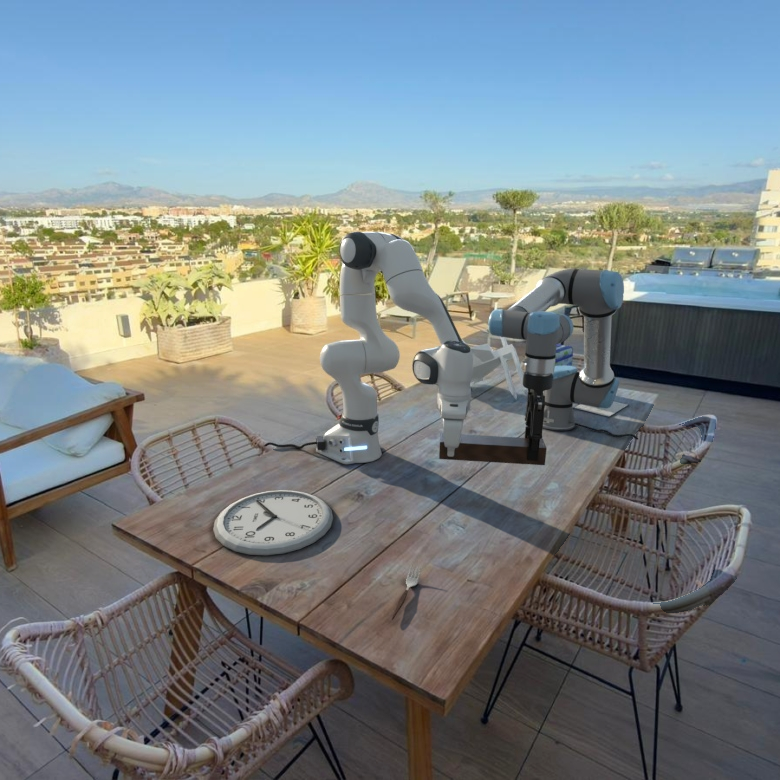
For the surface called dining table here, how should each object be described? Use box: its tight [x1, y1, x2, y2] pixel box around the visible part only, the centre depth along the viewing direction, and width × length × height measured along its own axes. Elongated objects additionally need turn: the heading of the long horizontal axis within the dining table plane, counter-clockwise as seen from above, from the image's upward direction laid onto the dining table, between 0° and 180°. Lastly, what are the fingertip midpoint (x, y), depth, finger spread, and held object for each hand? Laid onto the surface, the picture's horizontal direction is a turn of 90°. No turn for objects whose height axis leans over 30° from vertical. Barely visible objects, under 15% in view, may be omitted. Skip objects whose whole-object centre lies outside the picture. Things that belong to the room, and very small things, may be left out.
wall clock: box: [212, 489, 334, 556], centre depth 134 cm, size 30×2×30 cm
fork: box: [391, 565, 422, 620], centre depth 108 cm, size 3×16×2 cm, turn 160°
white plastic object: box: [461, 336, 528, 400], centre depth 245 cm, size 37×45×31 cm
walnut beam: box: [438, 432, 547, 466], centre depth 143 cm, size 28×6×5 cm, turn 83°
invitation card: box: [573, 400, 629, 418], centre depth 226 cm, size 21×1×15 cm
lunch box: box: [555, 343, 574, 366], centre depth 248 cm, size 26×11×21 cm, turn 134°
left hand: (450, 449), depth 144 cm, fingers closed on walnut beam, 6 cm apart
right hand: (530, 454), depth 142 cm, fingers closed on walnut beam, 6 cm apart
